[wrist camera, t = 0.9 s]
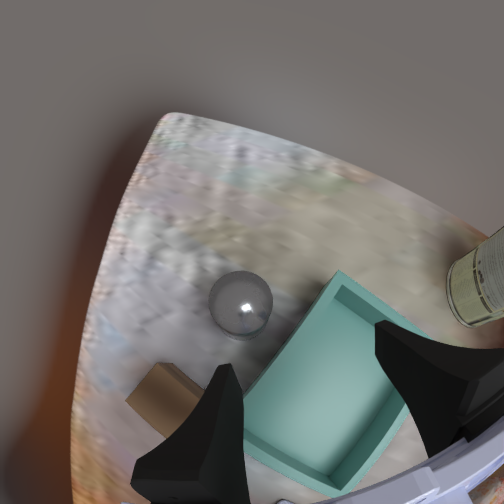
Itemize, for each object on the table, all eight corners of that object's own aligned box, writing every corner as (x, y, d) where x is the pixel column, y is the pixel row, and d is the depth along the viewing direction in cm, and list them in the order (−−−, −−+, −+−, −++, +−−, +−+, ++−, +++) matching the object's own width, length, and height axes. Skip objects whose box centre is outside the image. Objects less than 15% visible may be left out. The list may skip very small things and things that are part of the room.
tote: (327, 483, 20) (341, 501, 15) (220, 420, 23) (214, 431, 18) (416, 351, 26) (442, 346, 21) (324, 285, 29) (338, 269, 24)
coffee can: (465, 245, 31) (525, 196, 18) (497, 298, 28) (561, 264, 15) (433, 283, 29) (508, 235, 16) (468, 343, 25) (548, 319, 12)
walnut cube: (180, 427, 23) (167, 439, 18) (144, 396, 24) (125, 400, 19) (210, 394, 24) (201, 401, 20) (172, 363, 25) (157, 362, 21)
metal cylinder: (247, 350, 26) (246, 345, 20) (208, 320, 27) (195, 306, 21) (276, 312, 28) (285, 295, 21) (238, 283, 29) (235, 259, 22)
